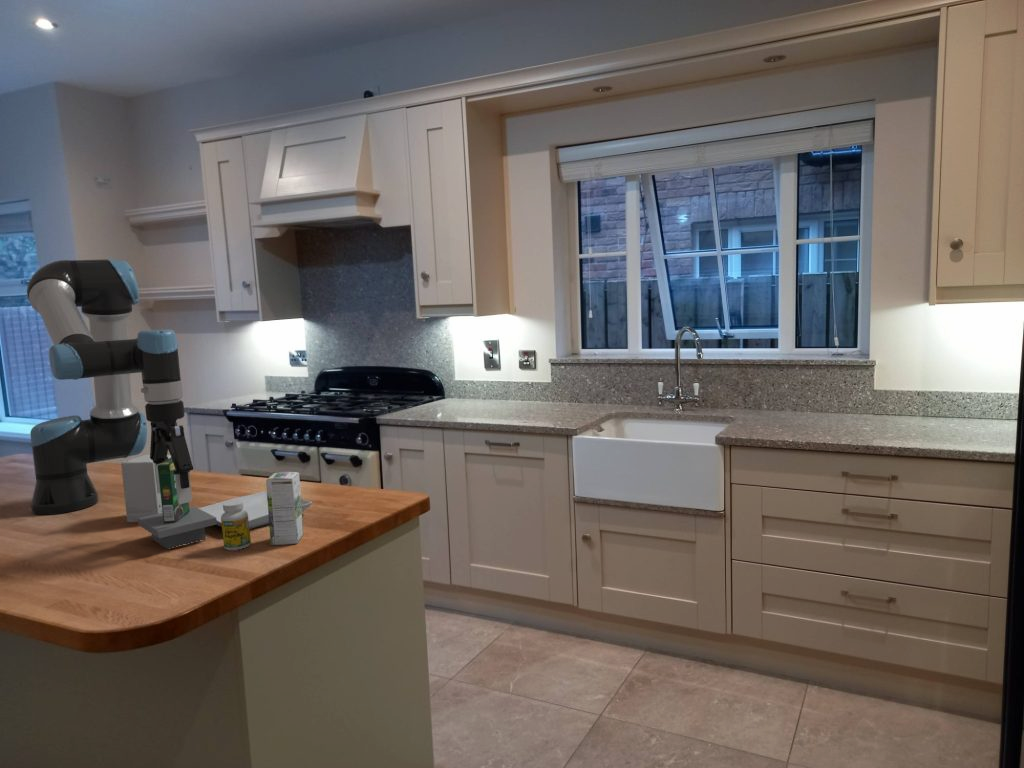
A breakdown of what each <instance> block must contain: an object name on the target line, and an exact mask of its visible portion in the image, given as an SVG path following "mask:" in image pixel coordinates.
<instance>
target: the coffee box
mask: <svg viewBox="0 0 1024 768" xmlns="http://www.w3.org/2000/svg"><path fill="white" fill-rule="evenodd" d="M157 467H158V476H159V484H160V494H161V503H162V512H163V520H164V523H176V522H177V521H178V520H180V519H181V518H182V517H183V516H185V515H186V514H187V513H189V512H190V509H189V507H190V502H188V503H183V504H178V498H177V489H176V480H175V475H174V474H173V473H174V471H175V470H176V469H175V466H174V464H173V461H172V458H169V459H168V460H166V461H164V462H163V463H161V464H159V465H158V466H157Z"/></svg>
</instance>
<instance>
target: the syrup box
mask: <svg viewBox="0 0 1024 768" xmlns="http://www.w3.org/2000/svg"><path fill="white" fill-rule="evenodd" d="M300 481H301V480H300V473H299V472H297V471H296V472H295V471H281V472H275V473H274V472H273V473H272V475H270V476H269V477H268V478H267V479H266V480H265V484H266V486H265V487H266V491H267V501H268V515H269V524H268V526H269V537H270V538H269V539H270V540H269V541H270V546H281V545H293V544H296V545H297V544H298V543H299V542H300V540H301V539H302V537H303V536H304V525H303V524H304V523H303V512H302V506H301V499H302V496H301V482H300Z"/></svg>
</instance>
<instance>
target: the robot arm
mask: <svg viewBox="0 0 1024 768" xmlns="http://www.w3.org/2000/svg"><path fill="white" fill-rule="evenodd" d="M139 292H140V291H139V285H138V282H137V278H136V275H135V273H134V270H133V268H132V267H131V264H129V263H128V262H127V261H125V260H120V259H108V258H107V259H104V258H103V259H79V260H78V259H76V260H75V259H74V260H72V259H71V260H68V259H64V260H63V259H61V260H57V261H52V262H50V263H47V264H45V265H44V266H42V267H41V268H39V269H38V270H37V271H36V272H34V274H33V275H32V276H31V278H30V279H29V282H28V284H27V289H26V297H27V299H28V301H29V304H30V306H31V308H32V309H33V310H34V311H36V312H37V313H39V314H40V317H41V319H42V321H43V324H44V326H45V328H46V331H47V332H48V334H49V337H50V339H51V341H52V344H53V345H51V346H50V348H49V352H48V357H49V364H50V369H51V373H52V376H53V377H54V378H55V379H57V380H59V381H62V380H74V381H76V380H81V379H89V378H93V386H94V399H95V401H94V402H95V406H94V407H93V408H92V409H91V410H90V411H89V416H90V418H89V419H83V420H82V418H81V416H80V415H68V416H62V417H57V418H54V419H49V420H45V421H43V422H40V423H38V424H36V425H35V426H32V428H31V430H30V433H29V434H30V447H31V451H32V457H33V458H32V459H33V466H34V474H35V486H34V491H33V495H32V499H31V503H30V505H31V506H30V507H31V512H32V513H33V514H34V515H55V514H56V515H57V514H65V513H69V512H70V513H71V512H76V511H79V510H82V509H85V508H86V509H87V508H89V507H92V506H94V505H95V504H97V503H99V493H98V492H97V491H98V490H97V489H96V487H95V486H94V485H95V484H94V483H93V482H92V480H91V478H90V476H89V473H88V465H87V464H90V463H91V464H92V463H97V462H98V463H99V462H104V461H110V460H116V459H117V460H118V459H126V458H129V457H132V456H136V455H137V456H138V455H140V454H141V453H142V452H144V449H145V448H146V445H147V440H148V427H147V422H150V432H151V433H150V449H149V455H150V459H151V460H153V463H154V464H155V465H154V467H155V476H156V485H157V493H160V484H159V476H158V467H157V466H158V465H159V464H161V463H163V462H164V461H166V460H168V457H167V455H168V452H169V454H170V455H171V458H172V461H173V464H174V466H175V469H176V470H175V471H174V473H173V474H174V475H175V480H176V489H177V498H178V504H183V503H188V502H189V503H191V502H192V503H193V494H192V485H191V477H190V473H191V471H193V470H194V466H193V463H192V458H191V455H190V450H189V447H188V443H187V440H186V436H185V430H184V425H178V423H177V421H178V420H181V419H183V418H184V417H185V406H184V402H183V400H182V399H183V397H184V393H183V385H182V379H181V369H180V361H179V359H180V358H179V349H178V348H179V343H178V341H177V335H176V332H175V331H174V330H173V329H170V328H169V329H168V328H167V329H150V330H149V329H148V330H142V331H139V332H138V333H137V337H136V338H131V339H129V338H128V325H127V318H128V317H129V316H130V315H131V314H132V313H133V306H135V305H137V304H138V303H139V302H140V293H139ZM78 307H80V309H81V312H80V310H79V308H78ZM82 314H83V315H84V316H85V317H86V318H88V320H89V321H88V322H89V328H88V326H87V324H86V322H85V320H84V318H83V316H82ZM137 373H138V374H139V373H141V382H142V387H141V388H140V392H141V393H142V394H143V399H144V402H147V403H146V404H145V405H144V408H145V409H144V410H145V415H144V413H142V412H139V407H137V406H136V405H135V404H134V403H133V402H132V401H133V400H132V389H131V388H132V386H131V385H132V384H131V374H137Z"/></svg>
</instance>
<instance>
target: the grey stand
mask: <svg viewBox="0 0 1024 768" xmlns="http://www.w3.org/2000/svg"><path fill="white" fill-rule="evenodd" d="M199 508H200V507H196V506H194V505H191V506H190V505H189V509H190V512H189V513H187V514H186V515H185V516H183V517H182V518H181V519H180V520H178V521H177V522H176V523H164V520H163V513H159V514H155V515H150V516H146V517H142V518H138V522H137V523H138V526H140V527H141V528H142V529H144V530H146V531H147V532H149V533H150V534H151V537H152V541H154V542H155V541H156V543H157V542H158V543H159V544H158V543H157V544H158V545H160V544H161V545H162V546H161V545H160V546H161V547H163V546H164V547H165V548H164V547H163V548H164V549H166V548H167V549H169V548H172V547H176V546H179V545H183V544H188V543H191V542H196V541H200V540H204V541H206V540H207V539H206V529H205V528H207V527H212V526H217V525H216V524H217V521H216V517H214V516H212V515H210V514H208V513H206V512H204V511H202V510H200V509H199ZM205 539H206V540H205ZM200 542H201V541H200ZM196 543H197V542H196ZM188 545H189V544H188ZM167 549H166V550H167ZM169 550H170V549H169Z"/></svg>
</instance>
